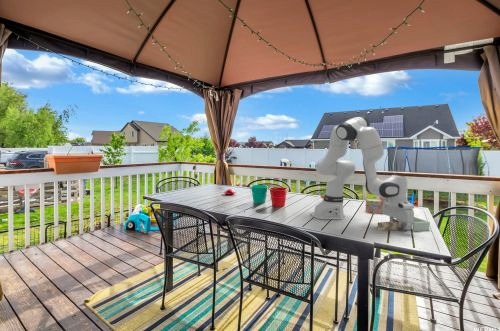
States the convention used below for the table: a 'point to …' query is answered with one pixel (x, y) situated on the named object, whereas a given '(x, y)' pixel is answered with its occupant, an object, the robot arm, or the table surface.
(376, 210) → the stack of blocks
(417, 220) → the box
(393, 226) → the scraper
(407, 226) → the white cup
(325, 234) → the table surface
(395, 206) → the robot arm
